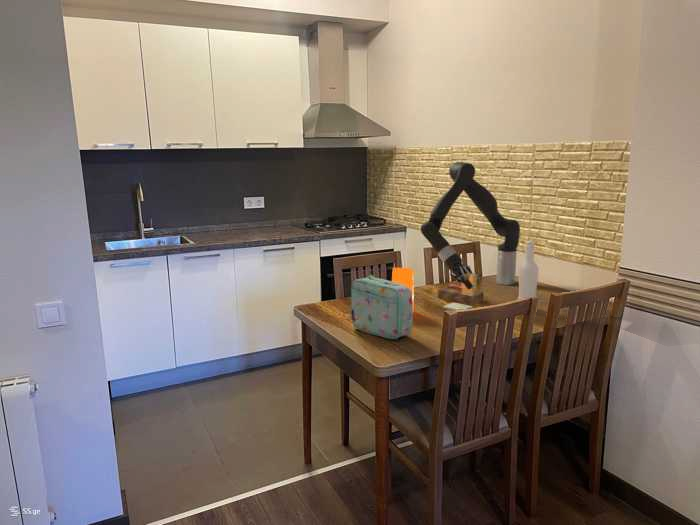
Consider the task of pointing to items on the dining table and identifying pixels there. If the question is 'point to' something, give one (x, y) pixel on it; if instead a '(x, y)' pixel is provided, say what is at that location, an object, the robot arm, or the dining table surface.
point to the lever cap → (472, 281)
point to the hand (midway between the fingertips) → (472, 287)
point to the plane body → (459, 294)
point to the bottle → (528, 273)
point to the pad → (456, 306)
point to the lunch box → (381, 307)
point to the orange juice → (404, 278)
